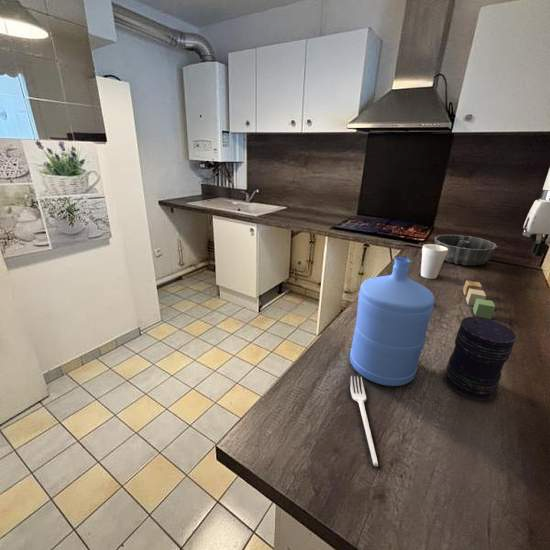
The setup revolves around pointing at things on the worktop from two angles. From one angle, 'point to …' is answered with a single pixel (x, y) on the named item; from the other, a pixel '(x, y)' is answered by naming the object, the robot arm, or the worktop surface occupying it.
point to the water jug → (391, 326)
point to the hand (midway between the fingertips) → (536, 254)
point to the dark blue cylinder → (479, 357)
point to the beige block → (474, 296)
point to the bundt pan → (466, 249)
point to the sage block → (483, 308)
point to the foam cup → (432, 260)
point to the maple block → (471, 286)
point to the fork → (363, 415)
